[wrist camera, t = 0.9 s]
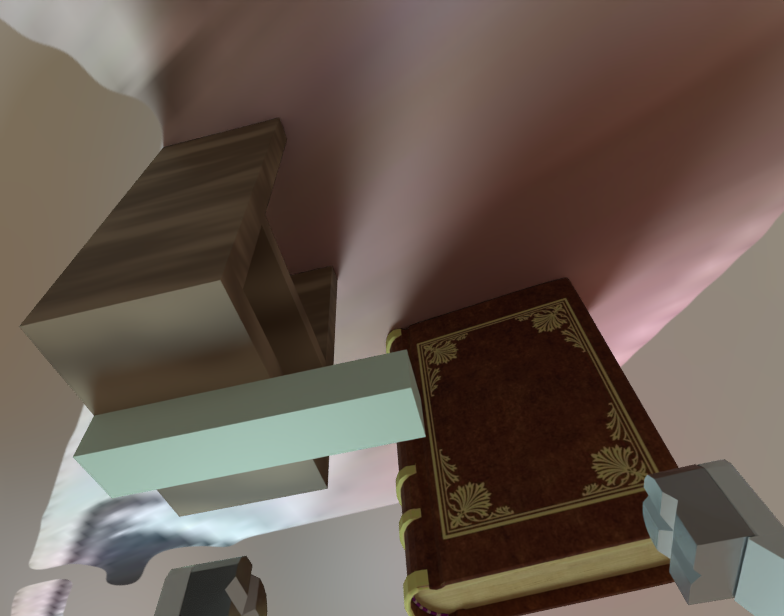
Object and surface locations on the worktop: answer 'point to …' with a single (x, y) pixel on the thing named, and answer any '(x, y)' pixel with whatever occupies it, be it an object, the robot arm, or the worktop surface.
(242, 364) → the walnut shelf
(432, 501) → the decorative book
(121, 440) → the pale green bar
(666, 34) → the worktop surface
